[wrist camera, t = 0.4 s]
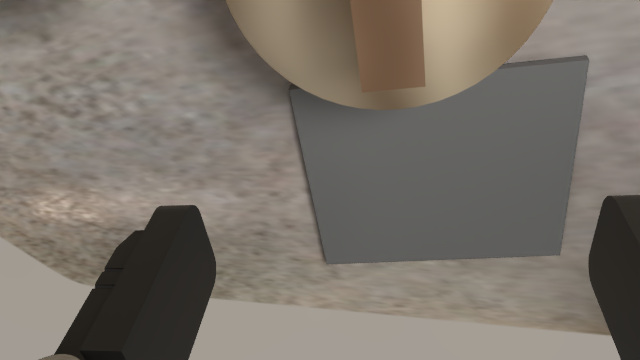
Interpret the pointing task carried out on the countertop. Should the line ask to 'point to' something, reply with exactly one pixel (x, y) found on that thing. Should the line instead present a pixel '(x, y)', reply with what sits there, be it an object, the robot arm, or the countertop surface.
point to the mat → (447, 168)
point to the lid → (386, 45)
